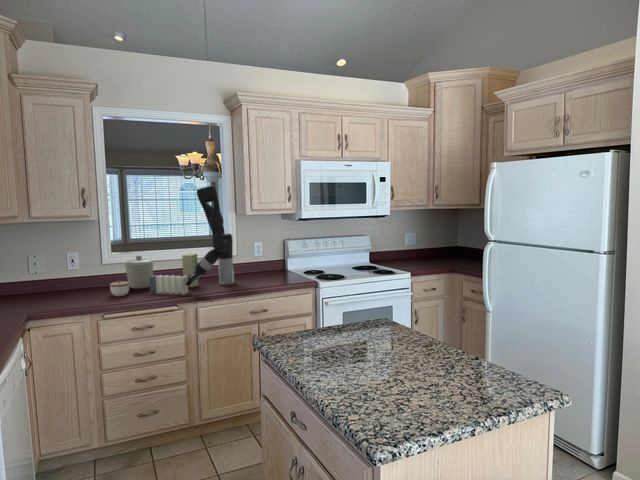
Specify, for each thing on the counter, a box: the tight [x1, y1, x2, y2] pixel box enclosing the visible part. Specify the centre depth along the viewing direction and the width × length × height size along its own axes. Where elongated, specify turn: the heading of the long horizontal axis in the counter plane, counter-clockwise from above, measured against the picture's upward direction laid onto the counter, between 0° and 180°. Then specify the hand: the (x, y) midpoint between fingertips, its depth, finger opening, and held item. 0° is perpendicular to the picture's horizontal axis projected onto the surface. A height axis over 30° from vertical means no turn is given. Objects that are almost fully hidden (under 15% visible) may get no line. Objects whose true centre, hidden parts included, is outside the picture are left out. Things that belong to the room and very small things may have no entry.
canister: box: [123, 254, 155, 290], centre depth 290 cm, size 18×18×21 cm
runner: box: [147, 291, 190, 296], centre depth 272 cm, size 24×9×1 cm, turn 75°
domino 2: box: [156, 274, 164, 293], centre depth 273 cm, size 2×5×10 cm, turn 165°
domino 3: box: [162, 274, 170, 293], centre depth 272 cm, size 2×5×10 cm, turn 165°
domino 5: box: [174, 275, 182, 294], centre depth 270 cm, size 2×5×10 cm, turn 165°
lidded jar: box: [109, 279, 130, 297], centre depth 268 cm, size 11×11×9 cm
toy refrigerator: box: [181, 253, 199, 288], centre depth 290 cm, size 8×7×21 cm
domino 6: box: [180, 275, 189, 295], centre depth 269 cm, size 2×5×10 cm, turn 165°
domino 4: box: [168, 275, 176, 294], centre depth 271 cm, size 2×5×10 cm, turn 165°
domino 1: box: [149, 274, 158, 293], centre depth 274 cm, size 2×5×10 cm, turn 165°
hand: (187, 284), depth 268 cm, fingers closed
